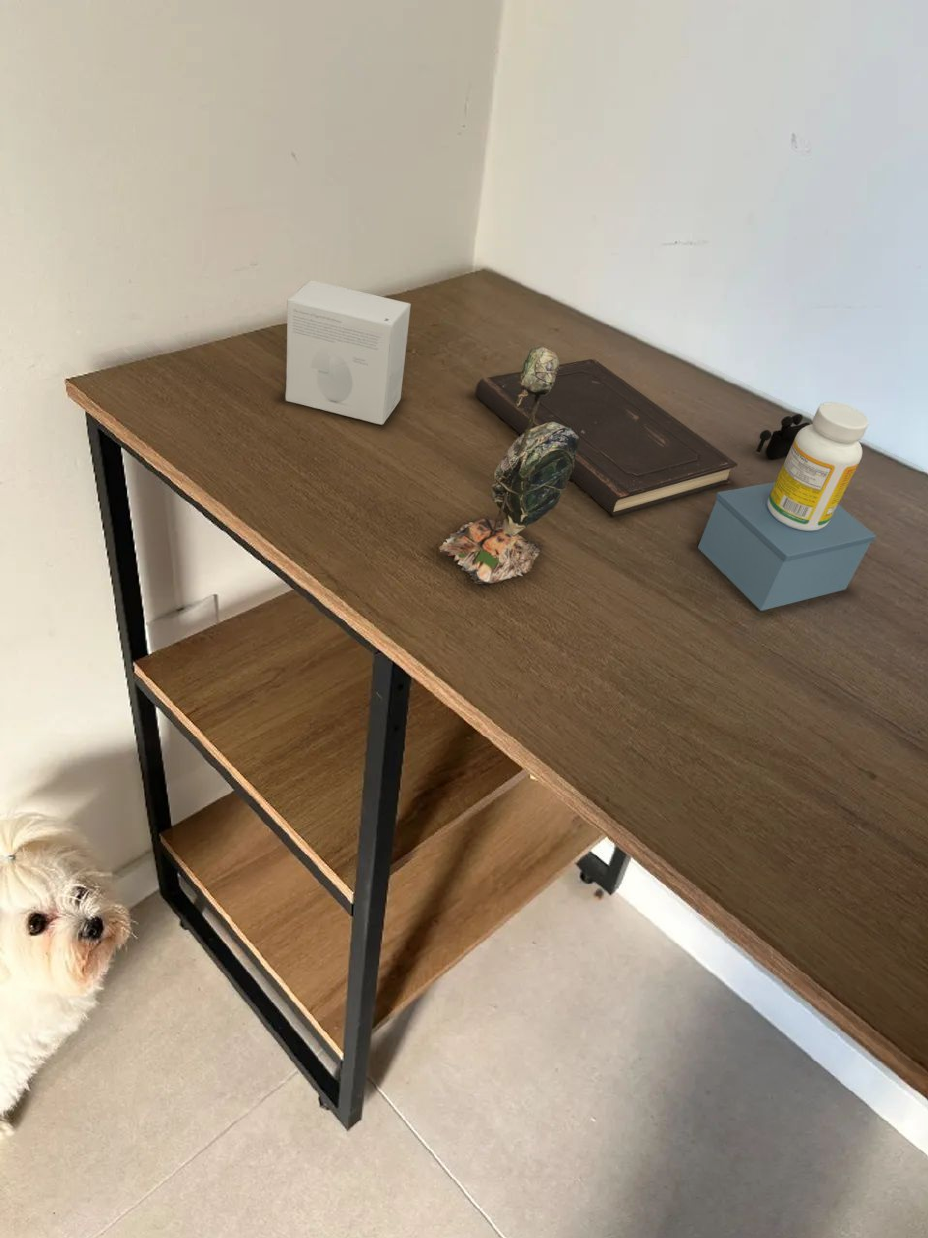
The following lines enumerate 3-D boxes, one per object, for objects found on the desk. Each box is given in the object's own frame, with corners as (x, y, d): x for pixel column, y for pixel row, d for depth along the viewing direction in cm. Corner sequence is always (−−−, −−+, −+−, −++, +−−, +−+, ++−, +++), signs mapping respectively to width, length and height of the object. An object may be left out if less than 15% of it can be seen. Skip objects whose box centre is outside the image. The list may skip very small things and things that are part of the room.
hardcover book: (589, 376, 107) (593, 357, 105) (730, 483, 93) (738, 463, 92) (473, 398, 99) (477, 378, 97) (609, 518, 86) (616, 497, 84)
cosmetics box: (402, 398, 97) (413, 300, 90) (382, 427, 92) (392, 326, 85) (307, 373, 98) (310, 275, 91) (283, 400, 93) (284, 299, 86)
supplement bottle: (778, 531, 77) (824, 429, 70) (757, 493, 81) (799, 394, 74) (838, 534, 78) (889, 434, 71) (814, 497, 82) (860, 400, 75)
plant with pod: (580, 563, 80) (643, 345, 67) (470, 597, 74) (515, 367, 61) (526, 511, 84) (575, 298, 71) (419, 539, 79) (451, 314, 66)
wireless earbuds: (794, 448, 101) (812, 407, 97) (810, 460, 99) (829, 419, 96) (747, 457, 98) (764, 415, 94) (763, 470, 96) (780, 428, 93)
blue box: (847, 590, 82) (877, 535, 78) (760, 612, 78) (787, 556, 74) (779, 529, 88) (804, 476, 84) (695, 547, 84) (717, 492, 80)
